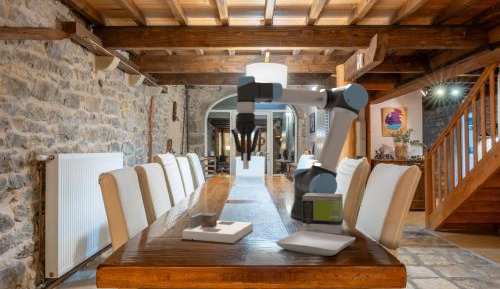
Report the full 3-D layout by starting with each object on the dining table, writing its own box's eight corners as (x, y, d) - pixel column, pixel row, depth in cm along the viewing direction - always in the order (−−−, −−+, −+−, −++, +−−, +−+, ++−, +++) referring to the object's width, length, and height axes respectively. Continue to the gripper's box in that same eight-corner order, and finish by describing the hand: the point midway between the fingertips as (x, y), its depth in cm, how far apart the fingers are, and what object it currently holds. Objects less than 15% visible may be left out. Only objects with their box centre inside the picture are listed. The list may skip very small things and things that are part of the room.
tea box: (343, 229, 166) (343, 193, 166) (340, 235, 157) (340, 196, 157) (306, 227, 171) (306, 192, 171) (301, 232, 162) (301, 195, 162)
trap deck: (252, 230, 165) (252, 212, 165) (233, 242, 144) (233, 223, 144) (207, 226, 171) (207, 210, 171) (182, 238, 151) (182, 219, 151)
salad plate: (300, 238, 152) (300, 229, 152) (356, 246, 141) (356, 236, 141) (274, 251, 134) (274, 241, 134) (336, 261, 123) (336, 250, 123)
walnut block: (216, 225, 160) (216, 213, 160) (212, 227, 156) (212, 215, 156) (206, 224, 162) (206, 213, 162) (201, 226, 158) (201, 215, 158)
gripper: (263, 113, 173) (263, 168, 174) (234, 113, 178) (234, 168, 178) (257, 111, 166) (258, 169, 167) (228, 112, 171) (228, 169, 171)
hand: (246, 168), depth 172 cm, fingers closed
